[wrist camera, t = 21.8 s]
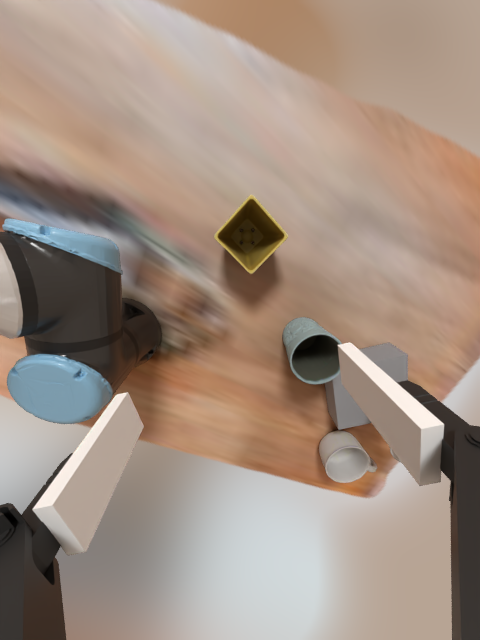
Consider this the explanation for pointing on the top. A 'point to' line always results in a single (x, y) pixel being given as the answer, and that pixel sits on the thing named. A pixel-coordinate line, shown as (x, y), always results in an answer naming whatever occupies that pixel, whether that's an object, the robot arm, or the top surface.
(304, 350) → the grey-green cup
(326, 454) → the teacup
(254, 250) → the flower pot
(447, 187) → the top surface
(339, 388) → the riser block
